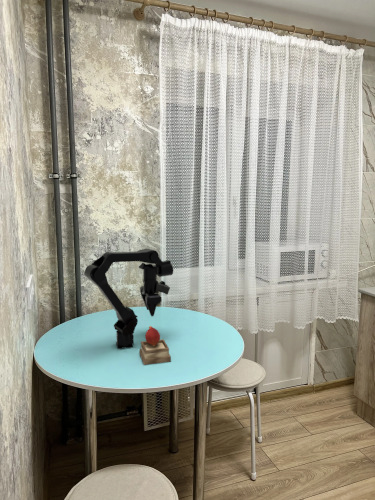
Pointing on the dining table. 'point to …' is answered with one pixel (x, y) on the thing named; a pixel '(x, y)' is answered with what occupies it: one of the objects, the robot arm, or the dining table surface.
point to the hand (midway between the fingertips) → (150, 312)
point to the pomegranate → (152, 336)
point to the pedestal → (154, 352)
